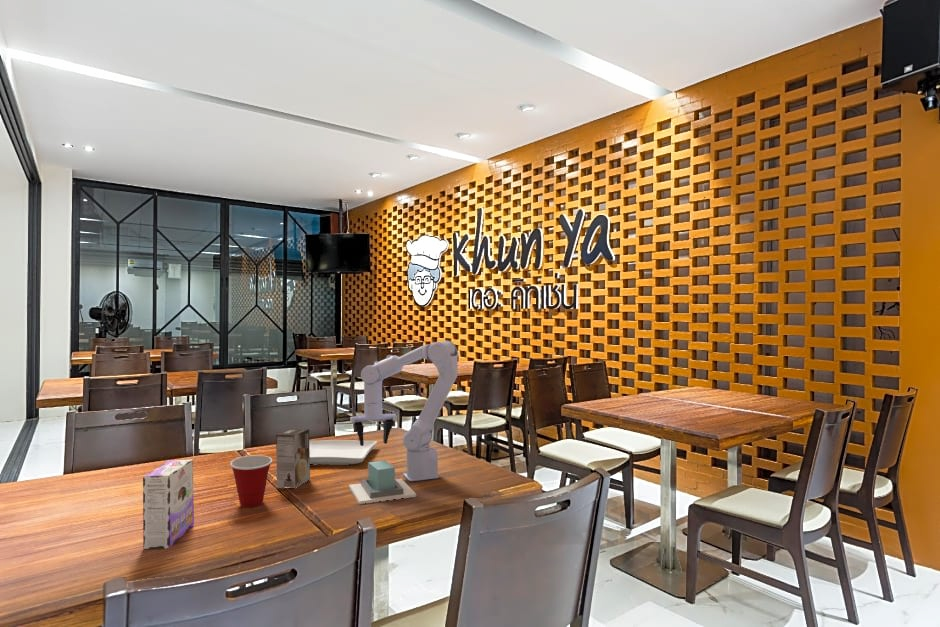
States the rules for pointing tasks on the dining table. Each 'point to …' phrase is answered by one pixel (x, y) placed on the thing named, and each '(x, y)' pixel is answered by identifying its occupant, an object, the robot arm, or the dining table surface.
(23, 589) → the dining table surface
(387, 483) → the teal block
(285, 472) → the coffee box
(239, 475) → the plastic cup
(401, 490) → the socket board
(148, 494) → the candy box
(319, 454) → the square plate
